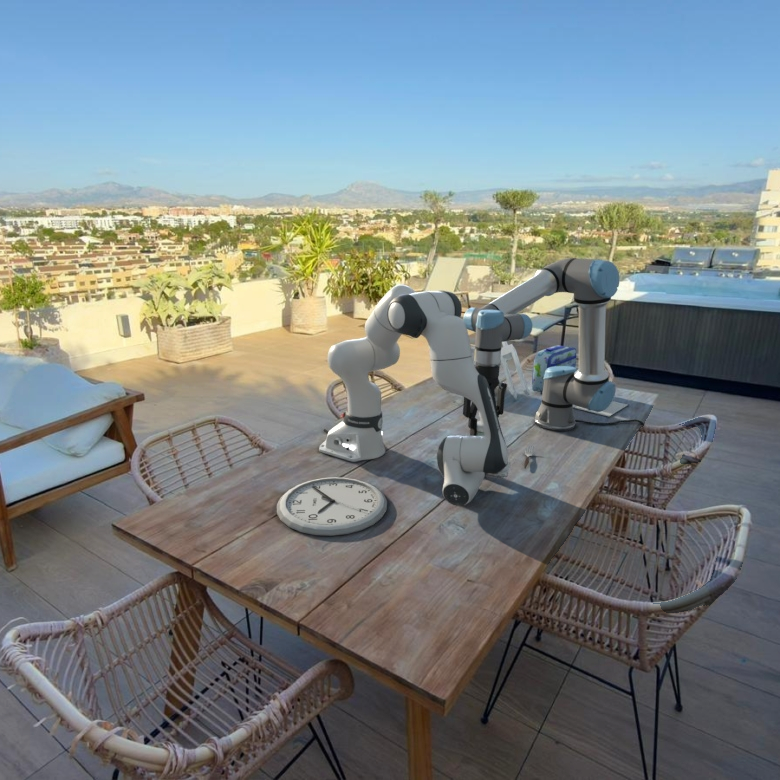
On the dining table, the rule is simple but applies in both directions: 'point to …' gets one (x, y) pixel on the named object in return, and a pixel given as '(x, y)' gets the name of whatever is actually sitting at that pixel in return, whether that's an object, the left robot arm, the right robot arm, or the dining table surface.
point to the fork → (528, 455)
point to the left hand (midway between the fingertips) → (480, 452)
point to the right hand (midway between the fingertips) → (481, 437)
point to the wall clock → (331, 506)
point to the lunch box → (551, 363)
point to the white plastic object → (508, 354)
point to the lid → (479, 426)
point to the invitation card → (607, 409)
